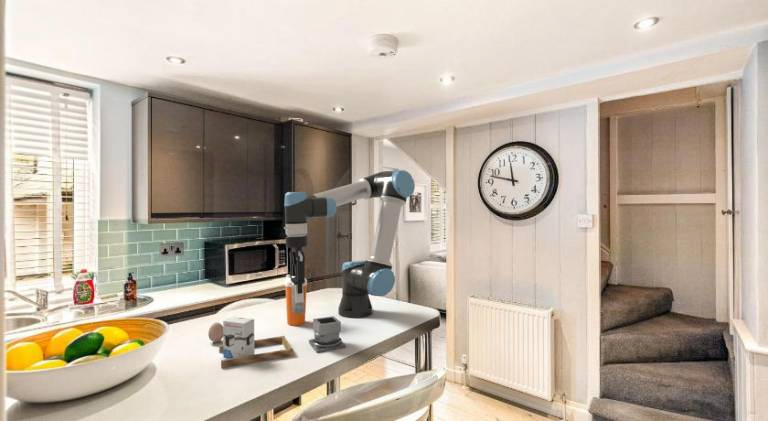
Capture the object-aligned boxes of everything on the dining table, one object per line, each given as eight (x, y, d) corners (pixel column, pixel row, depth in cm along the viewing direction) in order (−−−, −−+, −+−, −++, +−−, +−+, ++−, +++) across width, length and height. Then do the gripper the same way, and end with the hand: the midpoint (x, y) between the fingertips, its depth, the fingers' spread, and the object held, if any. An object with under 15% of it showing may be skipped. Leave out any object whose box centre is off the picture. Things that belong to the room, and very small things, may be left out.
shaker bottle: (302, 327, 149) (301, 276, 149) (280, 325, 151) (280, 275, 151) (310, 320, 158) (310, 272, 158) (290, 319, 160) (290, 271, 160)
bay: (284, 341, 134) (284, 335, 134) (292, 355, 121) (292, 349, 121) (219, 351, 125) (219, 345, 125) (221, 367, 112) (221, 361, 112)
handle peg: (303, 309, 139) (302, 274, 139) (306, 312, 135) (305, 276, 134) (290, 311, 137) (289, 275, 137) (293, 314, 133) (292, 277, 132)
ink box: (222, 357, 120) (222, 320, 120) (233, 351, 125) (233, 316, 124) (244, 361, 117) (244, 323, 117) (255, 355, 122) (254, 318, 121)
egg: (216, 345, 130) (216, 325, 130) (205, 343, 132) (204, 323, 132) (227, 340, 135) (227, 321, 135) (216, 338, 137) (216, 319, 137)
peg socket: (336, 338, 137) (336, 314, 137) (345, 347, 128) (345, 322, 128) (308, 342, 132) (308, 318, 132) (316, 352, 123) (316, 326, 123)
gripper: (281, 234, 141) (282, 296, 142) (290, 238, 126) (292, 308, 127) (301, 233, 144) (302, 294, 145) (313, 236, 129) (314, 305, 130)
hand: (298, 300), depth 136 cm, fingers closed on handle peg, 4 cm apart
